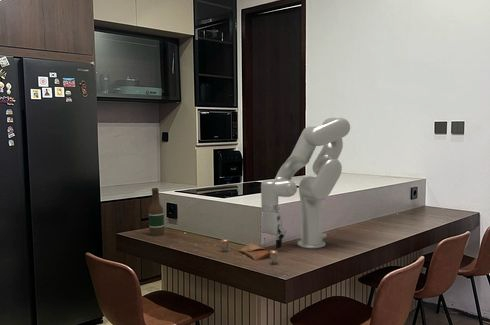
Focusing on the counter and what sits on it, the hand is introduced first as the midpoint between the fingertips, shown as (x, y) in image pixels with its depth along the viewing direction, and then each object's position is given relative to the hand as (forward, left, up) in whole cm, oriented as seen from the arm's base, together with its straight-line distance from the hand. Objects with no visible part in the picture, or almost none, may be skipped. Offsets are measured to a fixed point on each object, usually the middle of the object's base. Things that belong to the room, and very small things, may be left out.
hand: (270, 246), depth 214 cm
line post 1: (+15, -14, -2) cm, 20 cm away
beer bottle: (+15, -64, -2) cm, 66 cm away
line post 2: (+15, +14, -2) cm, 20 cm away
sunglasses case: (+10, -1, -2) cm, 11 cm away
